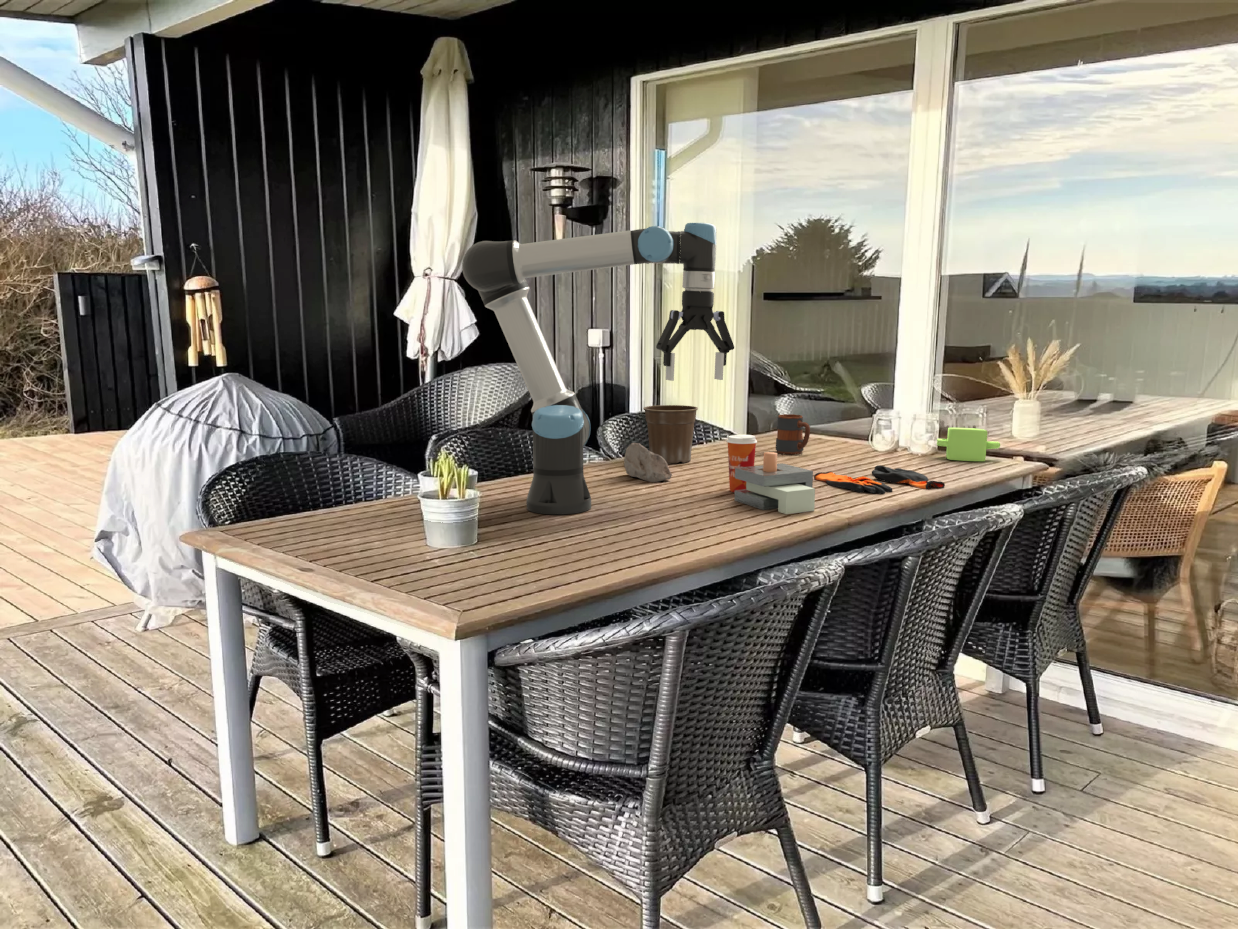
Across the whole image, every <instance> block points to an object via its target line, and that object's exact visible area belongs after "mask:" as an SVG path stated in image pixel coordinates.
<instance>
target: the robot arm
mask: <svg viewBox="0 0 1238 929" xmlns="http://www.w3.org/2000/svg"><path fill="white" fill-rule="evenodd" d="M716 255H717V227H716V226H715V225H714V224H713V223H709V222H687V223H686V224H685V225H684V229H683V230H680V231H672V230H668V229H666V228H665V227H662V226H659V225H655V226H654V225H653V226H648V227H645V228H639V229H634V230H629V229H628V230H623V231H621V230H620V231H615V232H607V233H606V232H605V233H600V234H599V233H597V234H592V235H583V236H576V237H568V238H559V239H551V240H543V241H535V242H528V243H520V242H519V241H517V239H516V240H515V239H514V240H505V241H494V240H493V241H492V240H482V241H478V242H476V243H474V244H473V245H471V246H469V248H468V249H467V250H466V252H465V253H464V256H463V258H462V262H461V270H462V274H463V277H464V279H465V280H466V282H467V283H468V284H469V285H470V286H471V287H472V288H473V289H475V290H477V291H478V294H479V296H480V297H481V301H482V302H483V305H484V307H485V308H487V309H489V310H491V311H493V312H494V314H495V317H496V319H497V321H498V323H499V326H500V328H501V331H502V332H503V335H504V337H505V340H506V342H507V343H508V347H509V349H510V351H511V353H512V356H513V359H514V360H515V362H516V365H517V367H518V370H519V372H520V374H521V376H522V378H523V381H524V383H525V386H526V387H527V390H528V392H529V394H530V397H531V399H532V402H533V403H532V407H531V409H530V412H531V415H532V421H531V427H532V428H531V429H532V448H533V449H532V460H533V461H532V463H533V464H532V465H533V477H532V479H531V483H530V487H529V489H528V490H529V491H528V492H527V497H526V510H527V511H529V512H531V513H536V514H543V515H569V514H570V515H572V514H573V515H574V514H577V513H579V514H580V513H583V512H587V511H589V510H591V509H592V496H591V493H590V490H589V488H588V484H587V482H586V478H585V474H584V446H585V445H586V444H587V443H588V440H589V438H590V435H591V429H592V428H591V421H590V418H589V416H588V414H587V413H586V412H585V410H584V409H583V408H582V406H581V405H580V401H579V400H578V397H577V395H576V393H575V392H574V391H573V390H570V389H567V387H566V384H565V383H564V380H563V379H562V375H561V374H560V371H559V369H558V367H557V364H556V362H555V360H554V357H553V355H552V353H551V351H550V347H549V346H548V343H547V341H546V339H545V337H544V334H543V332H542V329H541V328H540V325H539V322H538V320H537V318H536V316H535V313H534V311H533V308H532V306H531V304H530V301H529V300H528V294H529V291H530V289H531V288H530V286H529V284H528V281H527V279H529V278H530V279H531V278H537V277H546V276H552V275H553V276H554V275H559V274H560V275H561V274H567V273H570V274H571V273H576V272H586V271H593V270H600V269H601V270H602V269H608V268H616V267H617V268H618V267H623V266H624V267H625V266H633V265H640V264H641V265H642V264H648V265H649V264H663V265H664V264H666V265H667V264H675V265H682V266H683V268H682V271H683V272H682V287H681V288H683V289H684V290H683V291H682V294H681V307H682V309H681V311H679V310H678V309H677V310H676V309H671V310H670V311H669V314H668V315H669V316H668V320H667V323H666V324H665V327H664V328H663V331H662V333H661V335H660V336H659V339H658V342H657V343H656V345H655V348H656V349H657V350H659V351H661V352H663V361H662V364H663V366H664V367H665V380H666V381H671V382H673V381H674V380H675V361H676V360H675V358H676V357H675V356H676V353H675V352H673V350H674V349H675V348H676V347H677V346H678V344H679V343H680V341H681V340H682V339H683V338H684V337H685V335H686V334H687V333H688V332H689V331H690V330H691V331H696V330H699V331H704V332H705V333H706V335H708V337H709V338H710V340H711V342H712V343H713V344H714V346H715V348H716V350H718V352H717V351H716V352H715V353H714V354H715V357H714V358H715V359H714V377H713V378H714V380H717V381H718V380H719V381H721V380H722V381H724V367H726V366H727V354H728V353H730V351H733V350H734V349H735V345H734V342H733V340H732V337H731V334H730V332H729V328H728V326H727V323H726V321H725V311H721V310H716V311H713V307H714V303H715V302H714V299H715V298H714V297H715V293H714V291H712V290H713V289H715V277H716V274H715V273H716ZM680 319H681V320H682V322H681V323H680V324H679V326H678V328H677V329H676V327H677V324H678V322H679V321H680ZM712 320H714V321H715V324H716V327H717V330H718V332H717V330H716V328H715V326H714V324H713V323H712V322H711V321H712ZM675 329H676V331H675ZM674 331H675V332H674Z"/></svg>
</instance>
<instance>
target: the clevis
mask: <svg viewBox="0 0 1238 929" xmlns="http://www.w3.org/2000/svg"><path fill="white" fill-rule="evenodd" d="M735 478H736V479H739V480H743V481H746V482H749V483H753V484H756V485H760V486H763V487H766V486H775V485H784V484H793V483H797V484H800V485H804V486H808V487H811V488H814V486H813V484H814V483H813V482H814V481H813V480H814V471H813V470H810V469H806V468H802V467H798V466H794V465H791V464H786V463H777V471H774V472H766V471H763V465H761V464H760V465H754V466H750V467H740V468H735ZM733 499H734V501H735V502H738V503H741V504H744V505H746V506H750V507H752V508H753V507H754V508H756V509H759V510H762V511H767V510H775V509H778V499H774V498H771V497H768V496H765V495H761V494H758V493H755V492H752V491H748V490H746V489H743V490H735V493H734V498H733Z"/></svg>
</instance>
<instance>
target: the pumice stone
mask: <svg viewBox="0 0 1238 929" xmlns="http://www.w3.org/2000/svg"><path fill="white" fill-rule="evenodd" d="M623 460H624V461H623V462H624V463H623V466H624V468H625V473H626V474H627V475H628V476H631V477H634V478H638V479H640V480H644V481H648V482H650V483H651V482H652V483H658V482H661V481H662V482H663V481H665V480H666V481H667V480H670V479H671V478H672V476H673V475H672V472H671V471H670V470H671V469H670V467H669V465H668V464H667V462H666V461H665V459H664V458H662V457H661V456H660V455H658V454H654V453H652V452H650V449H649V450H648V447H646V446H644V445H642V444H641V442H640V443H639V442H632V443H630V444H629V445H628V446H627V448H626V449H625V453H624V459H623Z"/></svg>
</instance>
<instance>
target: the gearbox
mask: <svg viewBox="0 0 1238 929" xmlns="http://www.w3.org/2000/svg"><path fill="white" fill-rule="evenodd" d="M936 446H938V447H946V452H945V457H946V459H947V460H949V461H950V460H951V461H960V462H961V461H962V462H963V461H964V462H986V456H987V450H993V449H994V450H995V449H1000V448H1001V443H1000V442H999V441H993V440H991V441H989V440H988V430H986V429H984V428H973V427H972V428H969V427H947V438H937V439H936Z"/></svg>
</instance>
